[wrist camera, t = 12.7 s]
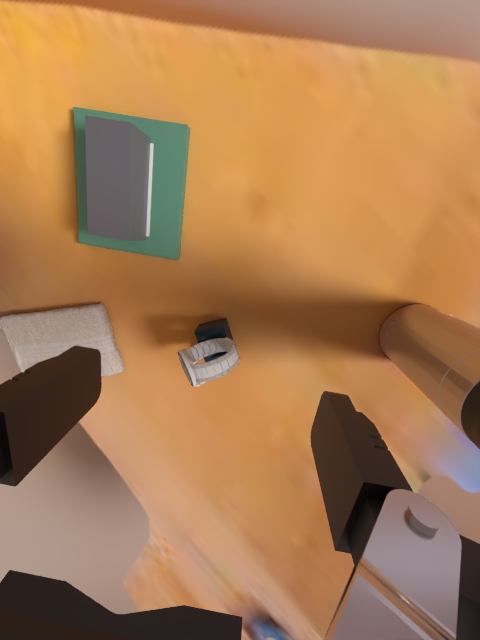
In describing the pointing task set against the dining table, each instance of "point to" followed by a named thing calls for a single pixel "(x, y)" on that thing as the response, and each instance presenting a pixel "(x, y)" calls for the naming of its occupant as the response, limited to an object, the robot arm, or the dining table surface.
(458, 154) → the dining table surface
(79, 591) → the robot arm
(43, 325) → the washcloth
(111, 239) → the board
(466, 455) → the dining table surface
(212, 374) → the watch
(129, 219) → the grey rectangular block
